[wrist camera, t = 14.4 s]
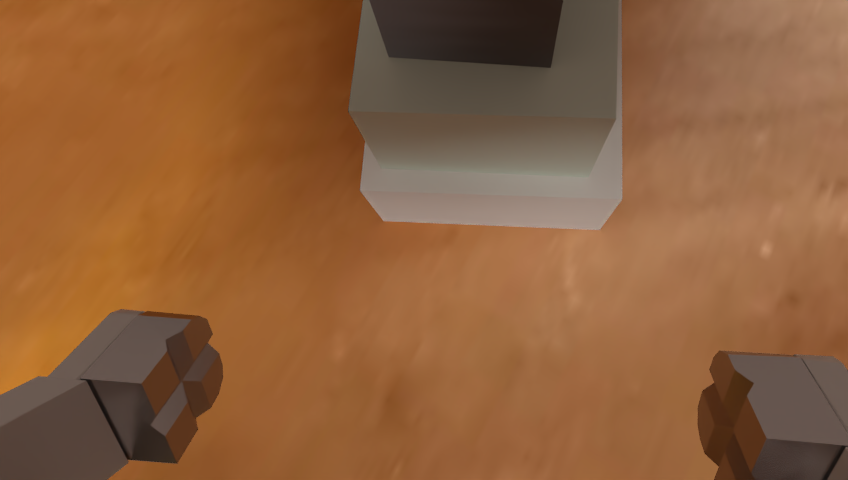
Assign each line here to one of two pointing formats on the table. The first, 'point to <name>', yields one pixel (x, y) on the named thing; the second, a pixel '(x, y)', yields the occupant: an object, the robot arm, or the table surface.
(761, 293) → the table surface
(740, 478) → the robot arm
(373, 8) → the charcoal block
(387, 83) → the tower top
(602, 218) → the tower base
